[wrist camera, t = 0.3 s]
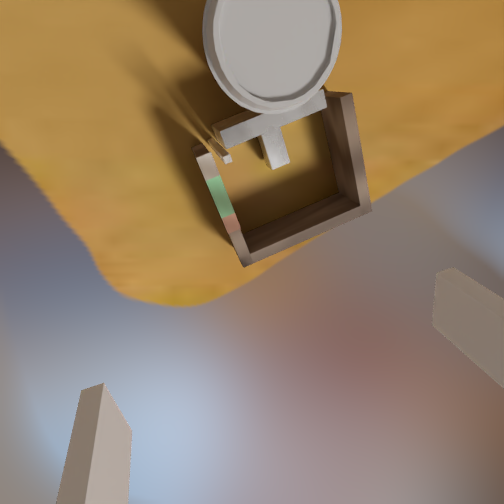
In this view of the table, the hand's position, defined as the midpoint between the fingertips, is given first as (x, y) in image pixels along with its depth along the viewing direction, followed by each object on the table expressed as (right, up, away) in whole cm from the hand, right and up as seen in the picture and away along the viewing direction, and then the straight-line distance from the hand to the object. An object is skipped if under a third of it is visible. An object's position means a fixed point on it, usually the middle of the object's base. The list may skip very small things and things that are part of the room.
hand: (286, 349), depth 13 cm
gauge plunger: (0, +16, +23) cm, 28 cm away
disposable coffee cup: (-3, +23, +19) cm, 30 cm away
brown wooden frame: (+2, +12, +26) cm, 28 cm away
